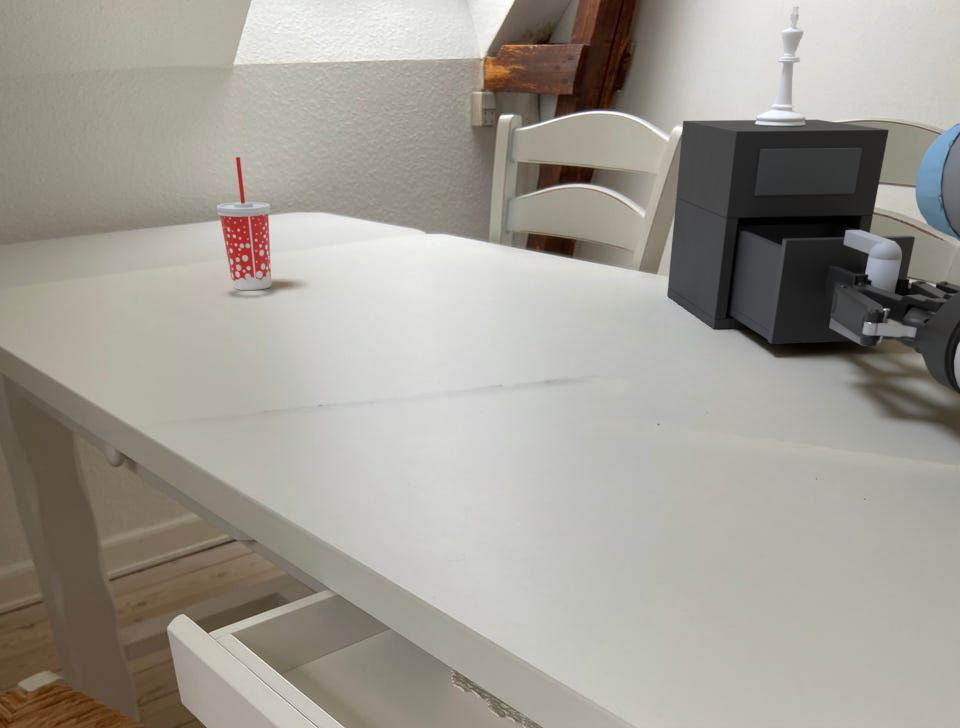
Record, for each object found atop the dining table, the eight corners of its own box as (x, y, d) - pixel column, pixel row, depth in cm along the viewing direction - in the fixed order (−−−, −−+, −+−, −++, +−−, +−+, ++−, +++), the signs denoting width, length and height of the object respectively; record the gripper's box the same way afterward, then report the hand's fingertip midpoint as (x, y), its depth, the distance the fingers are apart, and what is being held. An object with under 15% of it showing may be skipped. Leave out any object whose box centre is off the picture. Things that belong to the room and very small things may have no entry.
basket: (937, 361, 87) (965, 241, 82) (805, 366, 85) (825, 244, 80) (822, 303, 107) (839, 203, 102) (714, 306, 105) (725, 206, 100)
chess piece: (808, 124, 101) (826, 7, 96) (801, 126, 97) (818, 5, 92) (759, 122, 103) (774, 8, 98) (750, 125, 99) (765, 6, 94)
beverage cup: (273, 279, 124) (260, 154, 117) (282, 289, 119) (269, 158, 112) (222, 283, 122) (206, 155, 115) (230, 292, 117) (214, 160, 110)
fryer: (854, 325, 103) (890, 129, 94) (714, 330, 101) (737, 131, 92) (790, 292, 117) (817, 119, 108) (666, 296, 115) (683, 120, 106)
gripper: (883, 406, 70) (757, 327, 90) (1088, 397, 72) (921, 321, 92) (906, 296, 66) (770, 238, 86) (1123, 289, 68) (940, 234, 88)
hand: (848, 281), depth 89 cm, fingers closed on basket, 3 cm apart
